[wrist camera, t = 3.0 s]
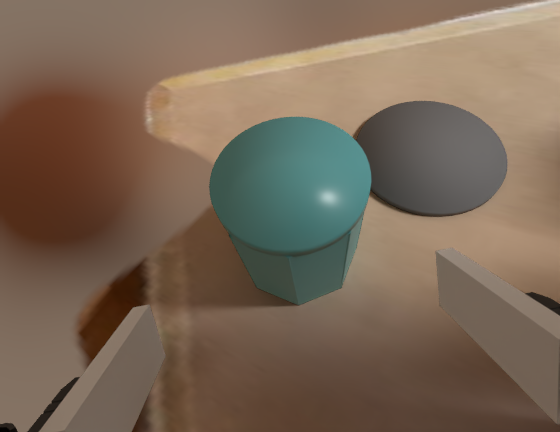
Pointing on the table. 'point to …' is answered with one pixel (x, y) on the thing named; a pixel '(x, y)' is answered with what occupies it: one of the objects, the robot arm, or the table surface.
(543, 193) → the table surface
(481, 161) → the coaster
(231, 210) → the teal piece
